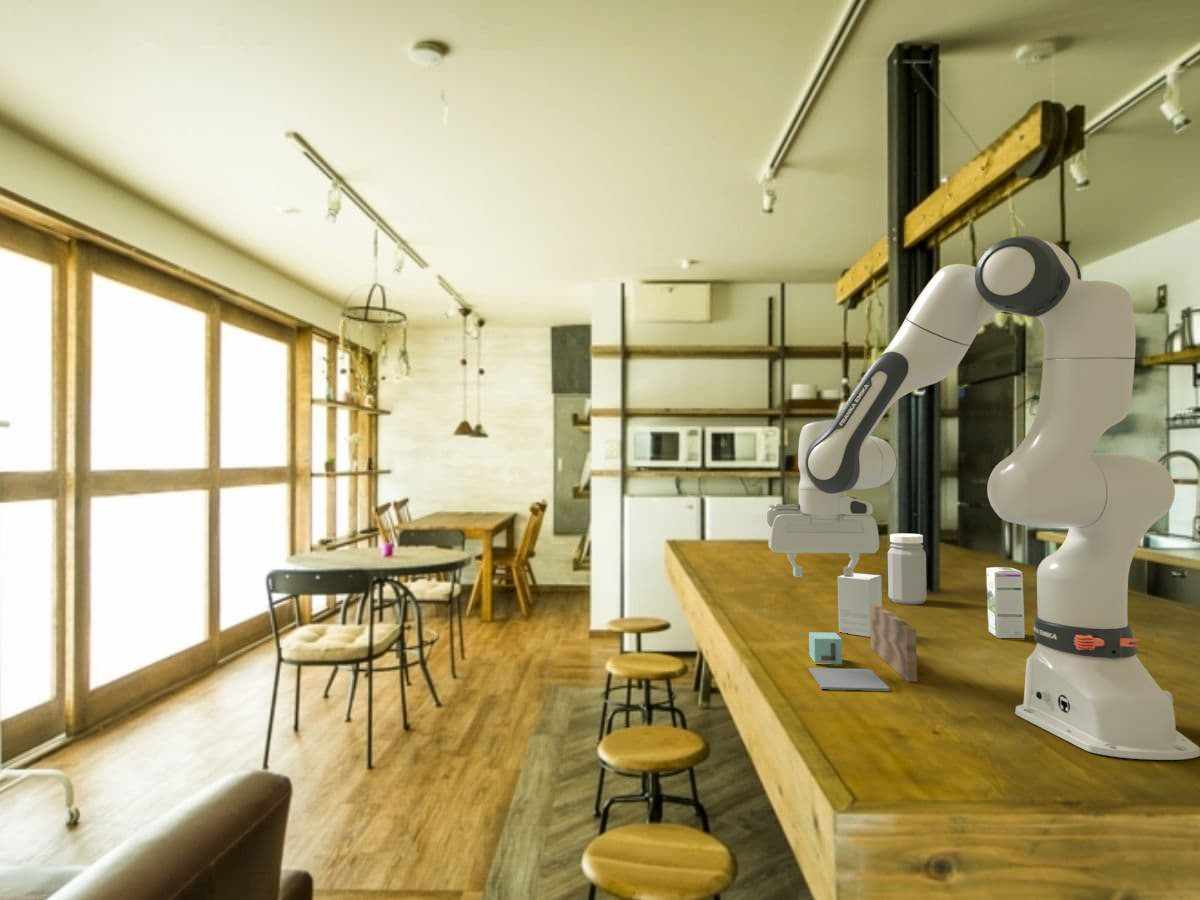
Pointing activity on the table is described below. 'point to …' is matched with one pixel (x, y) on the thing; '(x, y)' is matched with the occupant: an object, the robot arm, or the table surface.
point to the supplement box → (857, 602)
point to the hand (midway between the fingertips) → (823, 576)
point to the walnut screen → (894, 641)
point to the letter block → (825, 647)
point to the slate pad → (848, 679)
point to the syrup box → (1005, 602)
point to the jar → (907, 569)
